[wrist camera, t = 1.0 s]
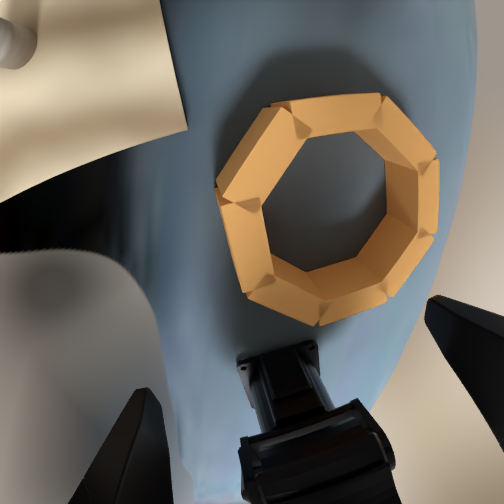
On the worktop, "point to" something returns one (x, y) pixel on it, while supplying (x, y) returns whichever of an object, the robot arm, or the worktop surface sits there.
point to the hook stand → (80, 85)
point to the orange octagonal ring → (381, 241)
